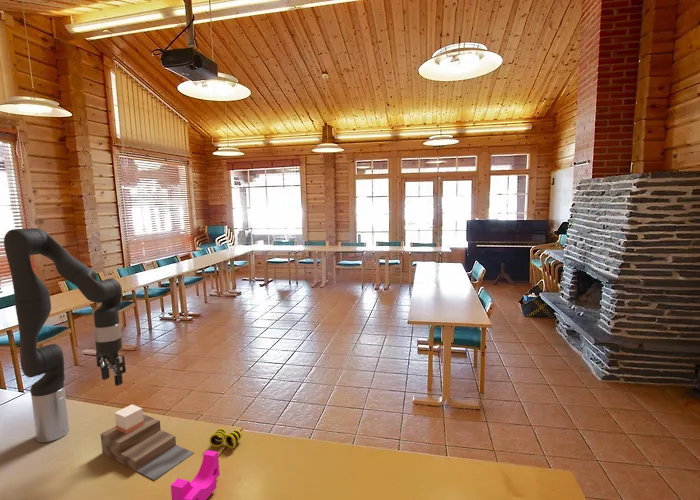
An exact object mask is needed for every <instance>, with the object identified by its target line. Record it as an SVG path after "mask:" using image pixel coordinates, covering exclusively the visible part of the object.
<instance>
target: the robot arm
mask: <svg viewBox="0 0 700 500" xmlns="http://www.w3.org/2000/svg"><path fill="white" fill-rule="evenodd" d="M3 247H4V251H5V252H4V253H5V255H6V258H7V259H6V260H7V263H8V267H9V270H10V275H11V281H12V286H13V287H12V288H13V294H14V295H13V296H14V307H15V312H16V316H17V317H16V318H17V324H18V331H19V358H20V366H21V367H20V368H21V370H22V373H23V375H24V376H25V377H27V378H35V377H37V376H40V375H42V377H41V378H39V379H38V380H37V381H35V383H33V384H32V385H31V386H30V394H31V395H30V397H31V404H32V410H33V420H34V428H35V435H36V436H35V437H36V441H37V442H38V443H49V442H53V441H56V440H58V439H60V438H63V437H64V436H66V435H67V434H68V433H69V431H70V424H69V416H68V407H67V400H66V398H67V397H66V391H65V381H66V380H65V378H66V377H65V360H64V359H65V358H64V353H63V349H62V348H61V346H60V345H58V344H56V343H52V344H51V343H49V344H47V345H44V346H40V347H38V338H39V335H40V332H41V330H42V329H43V327H44V325H45V323H46V322H47V320H48V318H49V316H50V313H51V311H52V302H51V294H50V290H49V289H48V287H47V286H46V284H45V283H44V282H43V281H42V280H41V278H39V277H38V276H37V274H36V273H35V271H34V269H33V266H32V261H31V256H34V255H41V256H43V257H46V258H48V259H50V260H51V261H52V263H53V264H54V266H55V269H56V271H57V273H58V274H59V276H61V277H62V278H63V279H65V280H66V281H68V283H71V284H72V285H74V286H76V287H77V289H78V290H79V292H80V293H81V294H82V295H83V296H84V297H85V298H86V299H87V300H88V301H90V302H92V303H95V304H100V303H101V304H100V306H99V307H98V308H97V309H95V310H94V313H93V322H94V340H95V351H96V352H95V355H96V356H95V357H96V367H97V368H99V370H100V372H101V373H100V374H101V379H102V380H103V381H106V380H108V379H110V377H111V376H110V371H112V372H113V375H114V376H113V377H114V378H113V379H114V386H115V387H117V386H118V387H119V386H121V385H122V384H123V374H125V373H127V371H126V370H127V369H126V361H125V356H124V355H121V356H120V355H119V351H120V350H121V349H123V342H122V340H123V339H122V330H121V325H120V316H119V310H120V305H121V300H122V296H123V295H122V293H123V289H122V285H121V284H120V282H119V281H118V280H117V279H115V278H107V279H103V280H98V281H97V280H96V279H97V277H98V276H97V275H98V274H97V272H96V271H95V270H94V269H92V268H91V267H89V266H87V265H86V264H84V263H83V262H82V261H80V260H78V259H77V258H75V257H74V256H73V255H72V254H70V253H69V252H68V250H66V249H65V248H64V247H63V246H62V245H61V244H60V243H59V242H57V241H56V240H55V239H54V237H52V236H51V235H50V234H49V233H48V232H47V231H45V230H44V229H40V228H33V227H32V228H30V227H29V228H14V229H10V230H8V231H7V232H6V233H5V235H4V238H3ZM43 374H44V375H43Z"/></svg>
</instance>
